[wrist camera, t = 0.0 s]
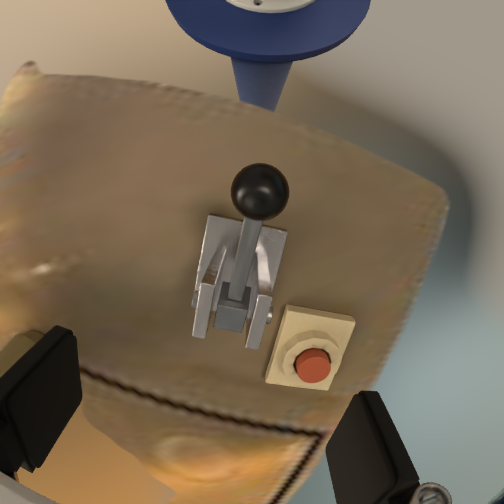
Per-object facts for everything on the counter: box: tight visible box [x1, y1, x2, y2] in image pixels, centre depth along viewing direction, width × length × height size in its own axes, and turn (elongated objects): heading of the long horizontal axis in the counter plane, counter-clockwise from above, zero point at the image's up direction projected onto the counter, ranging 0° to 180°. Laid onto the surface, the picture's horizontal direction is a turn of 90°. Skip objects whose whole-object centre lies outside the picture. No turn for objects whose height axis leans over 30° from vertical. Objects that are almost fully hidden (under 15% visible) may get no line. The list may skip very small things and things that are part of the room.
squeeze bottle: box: [0, 331, 44, 377], centre depth 28 cm, size 8×8×18 cm
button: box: [296, 348, 331, 383], centre depth 32 cm, size 4×4×2 cm
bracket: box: [191, 213, 288, 350], centre depth 27 cm, size 10×8×12 cm
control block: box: [265, 304, 356, 390], centre depth 34 cm, size 10×8×4 cm
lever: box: [213, 163, 289, 333], centre depth 20 cm, size 13×3×3 cm, turn 167°
